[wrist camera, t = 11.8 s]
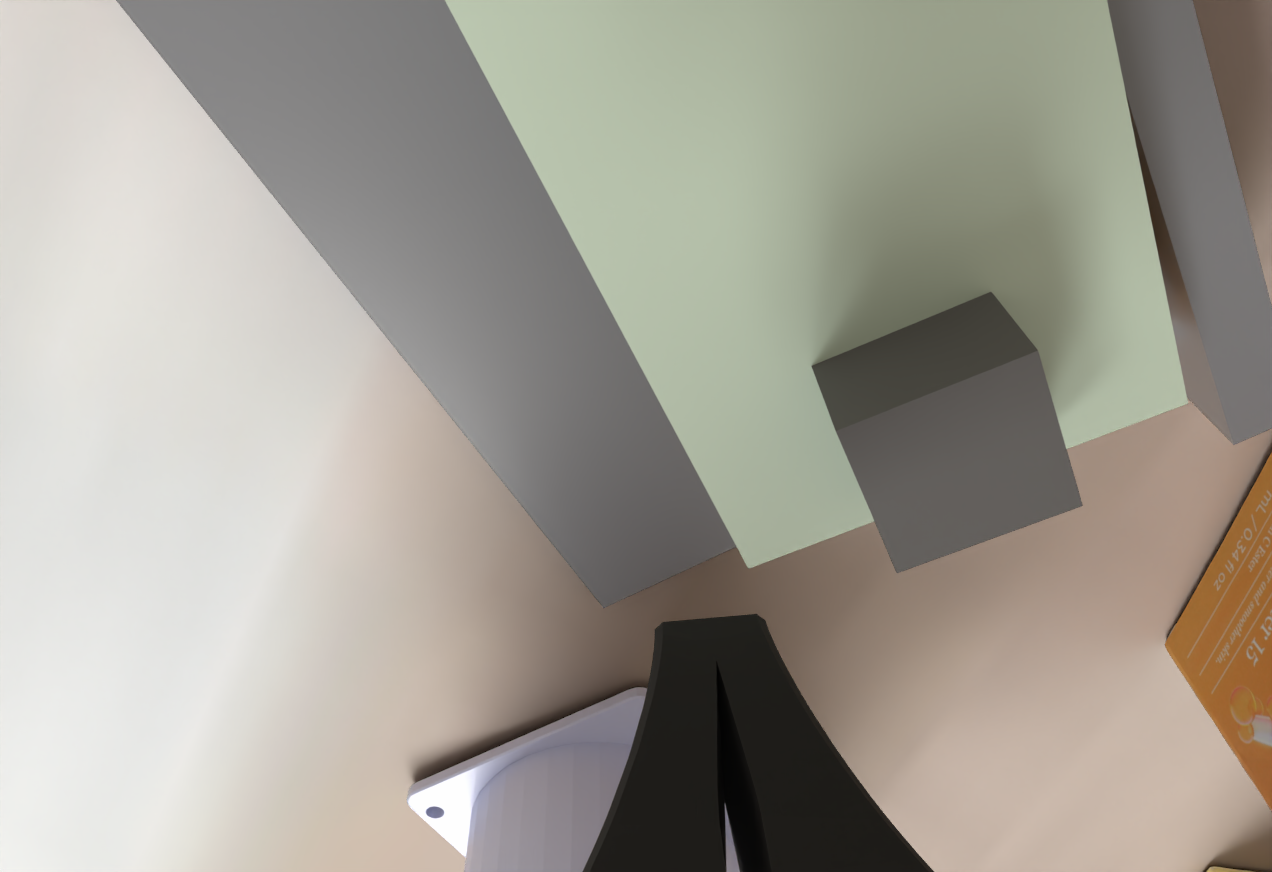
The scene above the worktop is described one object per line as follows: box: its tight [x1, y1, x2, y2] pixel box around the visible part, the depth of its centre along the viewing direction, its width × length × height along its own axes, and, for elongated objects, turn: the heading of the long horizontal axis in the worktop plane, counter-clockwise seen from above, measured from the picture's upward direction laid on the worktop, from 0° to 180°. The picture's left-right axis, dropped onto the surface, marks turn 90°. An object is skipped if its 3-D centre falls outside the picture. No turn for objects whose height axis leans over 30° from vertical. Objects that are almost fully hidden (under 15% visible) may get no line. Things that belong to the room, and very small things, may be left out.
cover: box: [445, 0, 1188, 573], centre depth 14 cm, size 16×8×3 cm, turn 25°
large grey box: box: [116, 0, 1272, 608], centre depth 18 cm, size 18×15×4 cm
